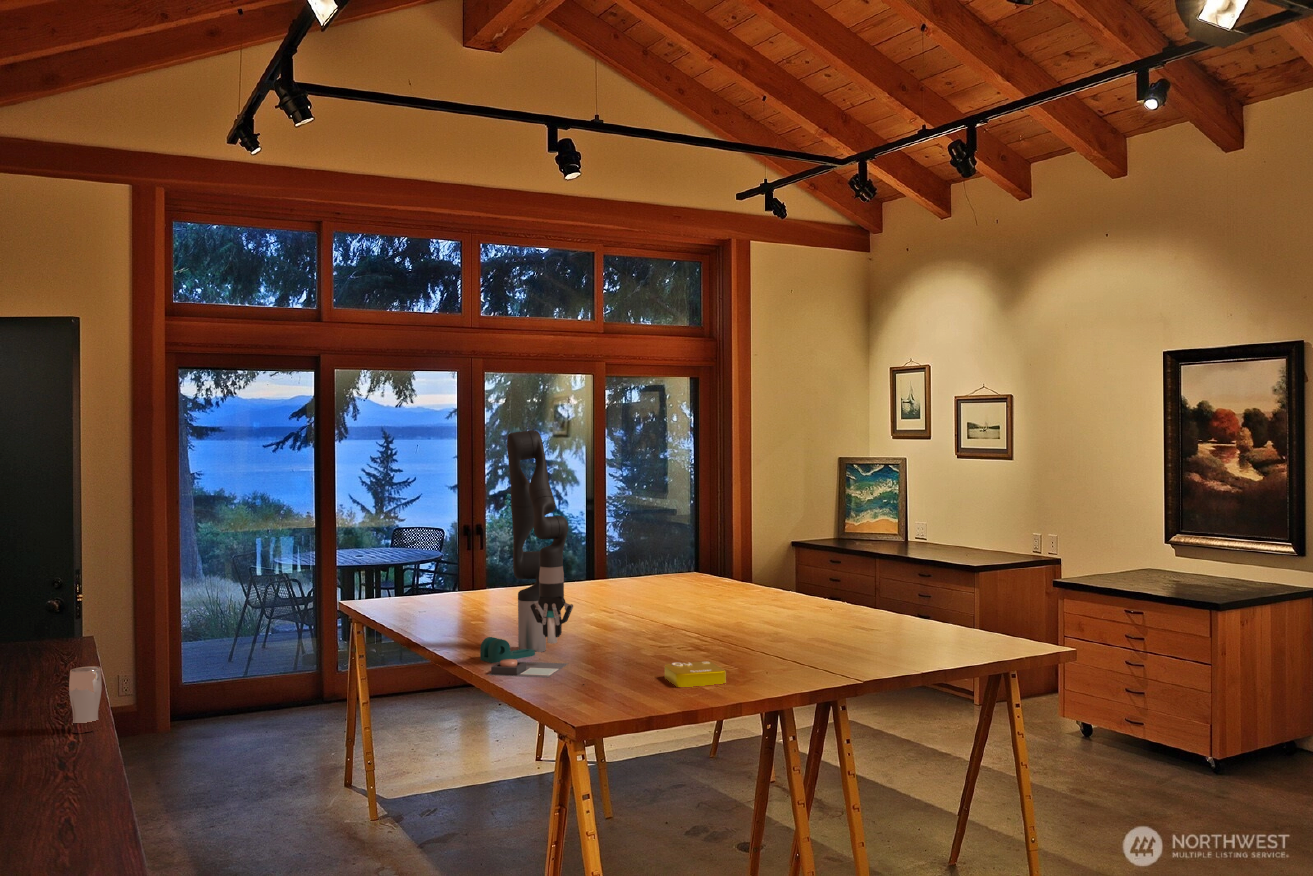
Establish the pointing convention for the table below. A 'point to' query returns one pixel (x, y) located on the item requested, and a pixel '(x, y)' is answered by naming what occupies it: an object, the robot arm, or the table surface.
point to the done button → (508, 663)
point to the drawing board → (528, 669)
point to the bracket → (501, 651)
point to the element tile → (694, 674)
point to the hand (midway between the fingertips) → (552, 636)
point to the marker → (551, 628)
